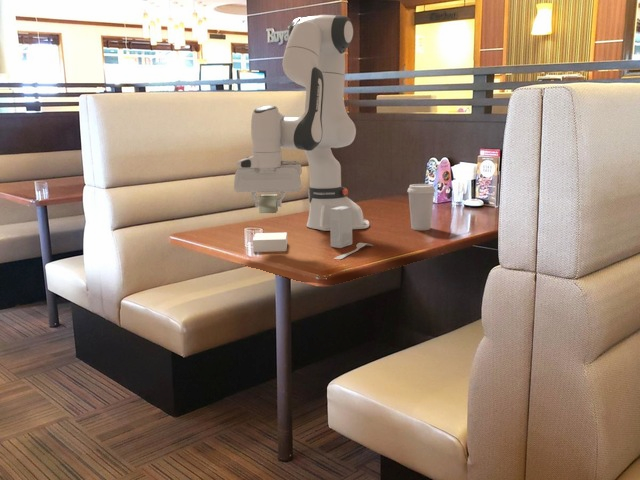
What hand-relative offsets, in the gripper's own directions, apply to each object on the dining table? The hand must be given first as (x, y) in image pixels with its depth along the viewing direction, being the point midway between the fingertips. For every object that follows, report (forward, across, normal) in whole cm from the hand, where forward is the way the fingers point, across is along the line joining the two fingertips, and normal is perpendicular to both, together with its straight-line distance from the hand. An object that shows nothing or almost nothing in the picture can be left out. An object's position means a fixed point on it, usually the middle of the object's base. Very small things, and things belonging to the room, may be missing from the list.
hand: (268, 206), depth 194 cm
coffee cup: (+12, -49, -26) cm, 57 cm away
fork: (+13, -26, +7) cm, 30 cm away
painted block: (+13, 0, 0) cm, 13 cm away
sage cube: (+2, 0, 0) cm, 2 cm away
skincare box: (+13, -22, -1) cm, 26 cm away
